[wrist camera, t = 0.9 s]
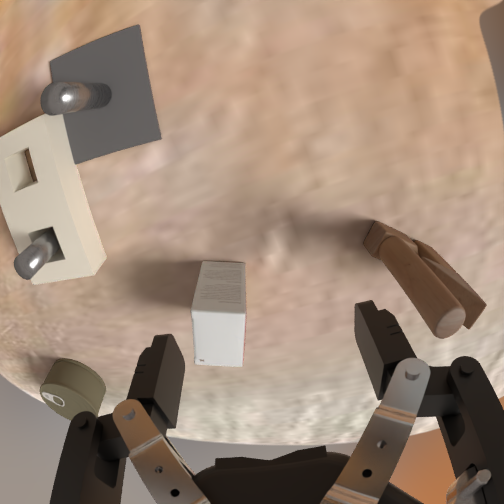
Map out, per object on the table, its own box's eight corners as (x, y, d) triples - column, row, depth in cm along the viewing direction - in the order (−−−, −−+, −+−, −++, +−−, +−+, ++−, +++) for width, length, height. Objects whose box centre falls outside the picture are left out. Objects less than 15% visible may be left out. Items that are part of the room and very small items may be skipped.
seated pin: (50, 223, 36) (10, 258, 28) (67, 218, 36) (26, 253, 27) (58, 243, 38) (20, 281, 29) (74, 239, 38) (37, 278, 29)
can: (106, 404, 55) (98, 431, 48) (55, 384, 52) (44, 408, 46) (107, 371, 50) (97, 400, 43) (50, 348, 47) (35, 374, 41)
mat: (51, 61, 27) (49, 61, 26) (139, 25, 26) (138, 24, 26) (73, 165, 33) (71, 165, 33) (161, 138, 33) (160, 139, 32)
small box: (243, 312, 43) (243, 368, 34) (202, 310, 43) (193, 366, 34) (246, 261, 40) (247, 313, 30) (201, 259, 40) (190, 310, 30)
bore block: (4, 140, 31) (-16, 146, 27) (63, 110, 30) (43, 114, 26) (47, 268, 40) (33, 285, 36) (106, 257, 39) (94, 275, 35)
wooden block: (419, 268, 41) (485, 352, 25) (361, 243, 39) (424, 337, 23) (432, 246, 40) (506, 325, 24) (375, 218, 38) (449, 302, 22)
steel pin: (86, 88, 29) (38, 90, 20) (109, 79, 29) (64, 76, 20) (91, 111, 30) (43, 120, 21) (113, 103, 30) (70, 108, 21)
